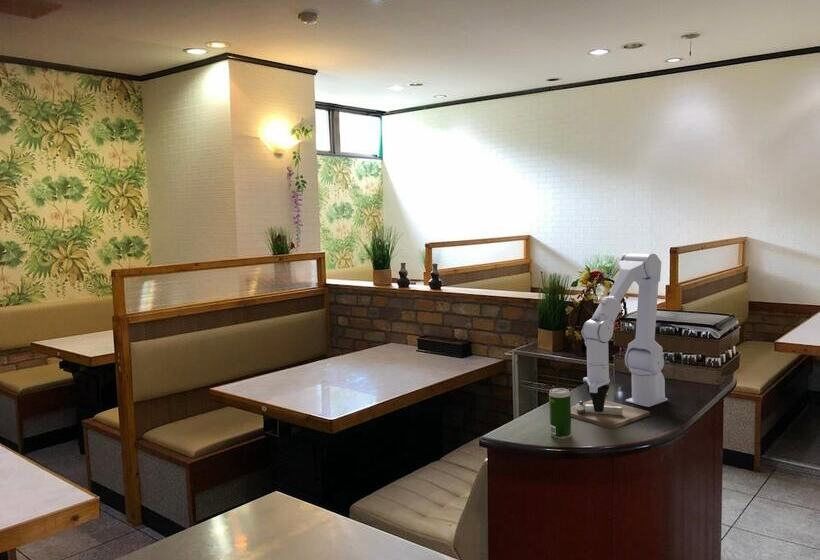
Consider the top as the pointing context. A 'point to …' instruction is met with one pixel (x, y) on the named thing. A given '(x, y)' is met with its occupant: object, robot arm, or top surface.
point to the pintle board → (610, 415)
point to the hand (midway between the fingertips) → (598, 411)
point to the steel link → (590, 409)
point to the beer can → (560, 413)
